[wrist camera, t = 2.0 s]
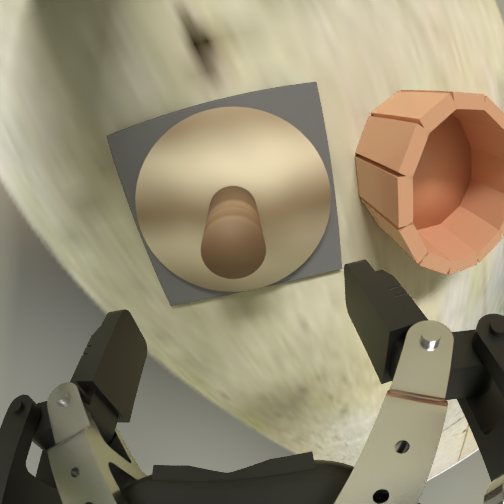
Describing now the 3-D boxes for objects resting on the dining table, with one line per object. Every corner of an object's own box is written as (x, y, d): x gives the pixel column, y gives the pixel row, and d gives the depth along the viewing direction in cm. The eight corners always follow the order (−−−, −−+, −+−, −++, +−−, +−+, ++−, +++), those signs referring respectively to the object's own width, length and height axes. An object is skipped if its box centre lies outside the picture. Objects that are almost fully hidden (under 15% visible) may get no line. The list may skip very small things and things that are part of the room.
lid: (115, 140, 17) (63, 159, 11) (310, 90, 16) (350, 82, 10) (174, 299, 23) (159, 363, 17) (335, 264, 22) (367, 321, 16)
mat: (109, 135, 17) (106, 136, 17) (314, 82, 16) (316, 81, 16) (171, 302, 24) (170, 306, 23) (339, 265, 23) (341, 268, 22)
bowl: (344, 93, 17) (388, 91, 11) (468, 92, 16) (519, 99, 11) (362, 249, 22) (395, 292, 17) (469, 221, 22) (510, 251, 16)
